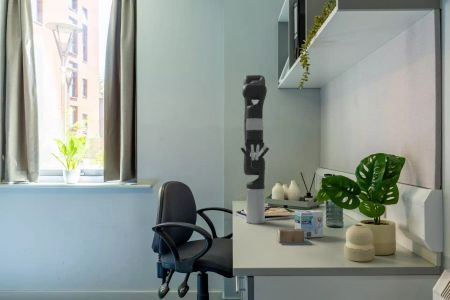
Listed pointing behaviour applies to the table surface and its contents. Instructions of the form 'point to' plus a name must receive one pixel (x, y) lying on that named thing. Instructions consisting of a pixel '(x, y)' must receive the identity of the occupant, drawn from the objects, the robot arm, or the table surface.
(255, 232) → the table surface
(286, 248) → the table surface
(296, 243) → the rubber mat
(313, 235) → the light bulb box
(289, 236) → the walnut block
